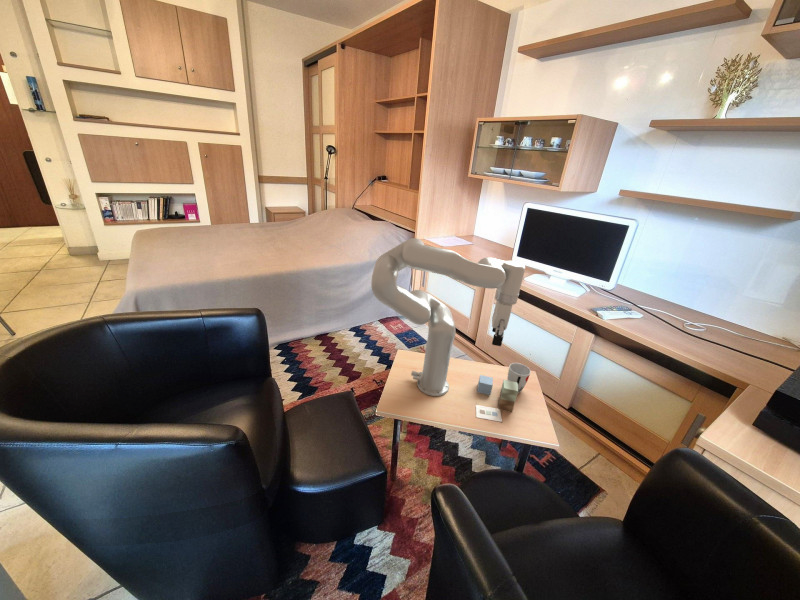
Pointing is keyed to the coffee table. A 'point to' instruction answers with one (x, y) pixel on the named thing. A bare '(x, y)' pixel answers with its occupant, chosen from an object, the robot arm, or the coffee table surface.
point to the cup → (519, 374)
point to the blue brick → (485, 385)
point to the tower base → (505, 404)
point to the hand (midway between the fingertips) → (496, 338)
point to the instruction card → (488, 413)
